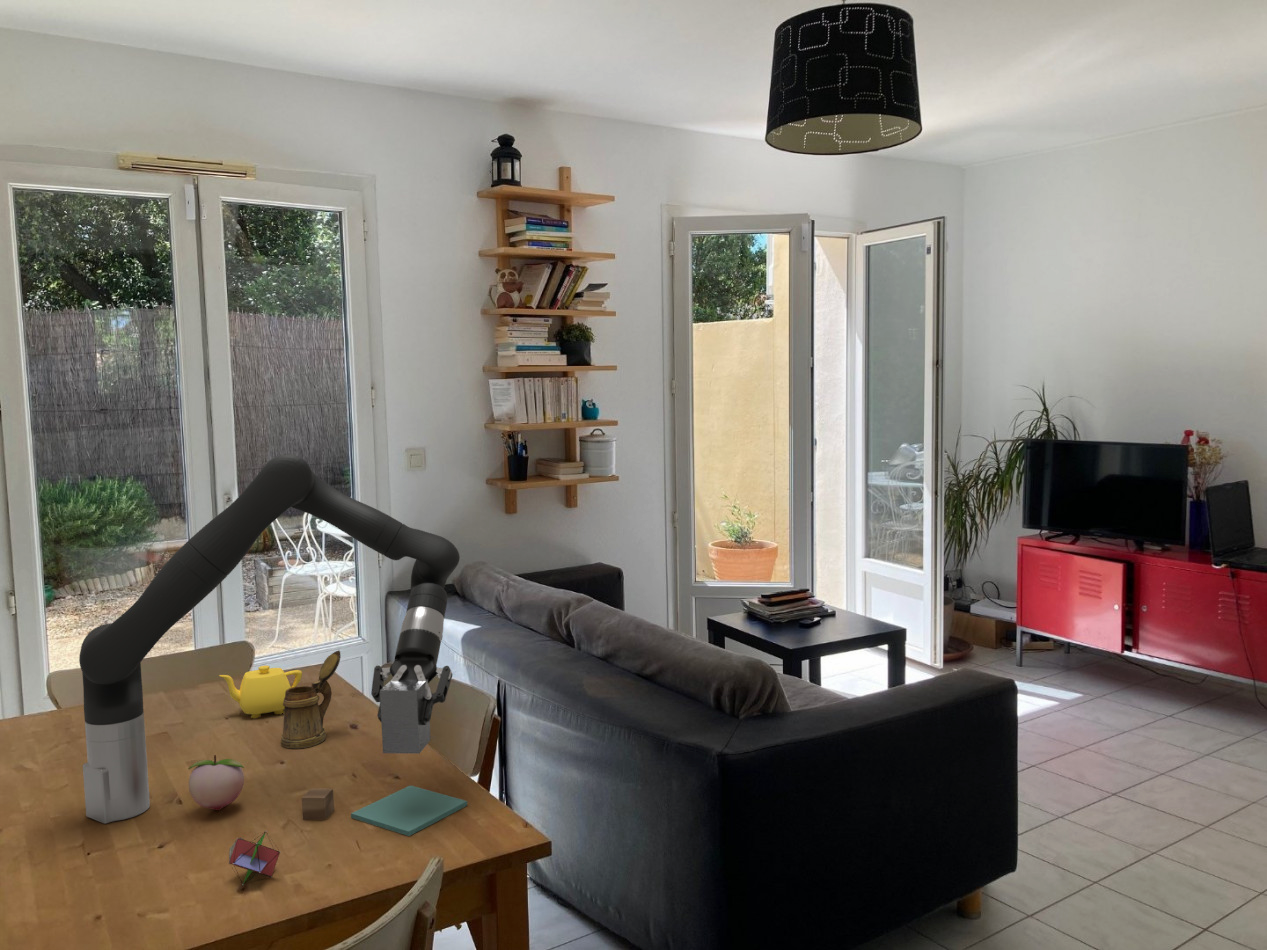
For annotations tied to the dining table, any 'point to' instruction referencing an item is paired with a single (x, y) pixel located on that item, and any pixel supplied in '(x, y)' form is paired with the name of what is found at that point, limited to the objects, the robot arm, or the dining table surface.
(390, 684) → the block
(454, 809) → the teal mat
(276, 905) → the dining table surface
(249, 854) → the geometric puzzle
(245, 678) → the teapot
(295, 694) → the wooden mug
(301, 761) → the dining table surface
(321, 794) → the walnut block
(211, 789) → the decorative fruit
